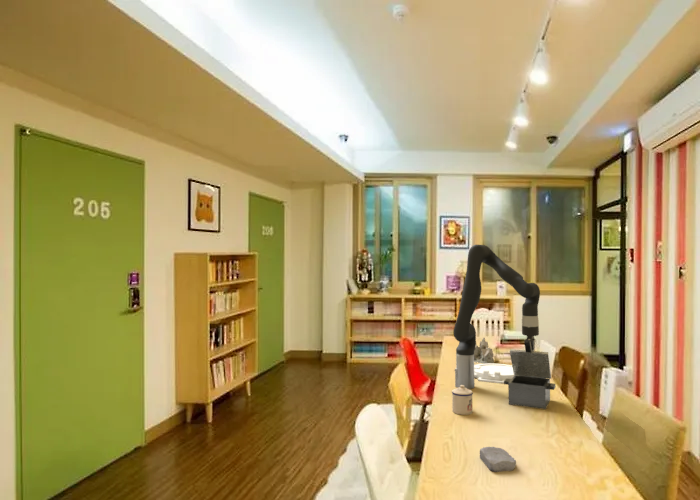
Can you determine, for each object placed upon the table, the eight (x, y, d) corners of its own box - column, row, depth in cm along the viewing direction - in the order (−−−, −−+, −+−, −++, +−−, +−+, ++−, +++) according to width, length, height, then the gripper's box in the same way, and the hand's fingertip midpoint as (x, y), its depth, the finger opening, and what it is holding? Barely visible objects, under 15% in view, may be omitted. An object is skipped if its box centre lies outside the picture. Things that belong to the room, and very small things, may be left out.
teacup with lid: (471, 416, 211) (471, 388, 212) (450, 414, 214) (450, 387, 215) (474, 407, 223) (474, 382, 223) (454, 406, 226) (454, 380, 226)
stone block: (504, 461, 169) (476, 457, 168) (506, 448, 169) (479, 443, 168) (519, 478, 157) (489, 473, 156) (522, 463, 157) (492, 458, 156)
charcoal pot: (501, 403, 229) (501, 381, 229) (508, 394, 243) (508, 374, 243) (552, 410, 218) (552, 387, 218) (556, 400, 232) (556, 379, 232)
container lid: (528, 372, 292) (528, 362, 292) (519, 386, 261) (519, 374, 261) (478, 367, 305) (478, 357, 305) (463, 379, 274) (463, 369, 274)
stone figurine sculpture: (466, 358, 330) (467, 336, 329) (491, 359, 328) (492, 337, 327) (469, 364, 314) (470, 341, 314) (495, 366, 312) (496, 342, 312)
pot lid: (507, 341, 230) (508, 336, 232) (514, 377, 243) (515, 372, 245) (546, 344, 222) (547, 339, 224) (551, 381, 235) (551, 376, 237)
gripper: (524, 322, 242) (524, 358, 242) (519, 326, 231) (520, 363, 231) (540, 323, 239) (541, 359, 239) (536, 327, 227) (537, 365, 227)
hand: (530, 361), depth 235 cm, fingers closed
